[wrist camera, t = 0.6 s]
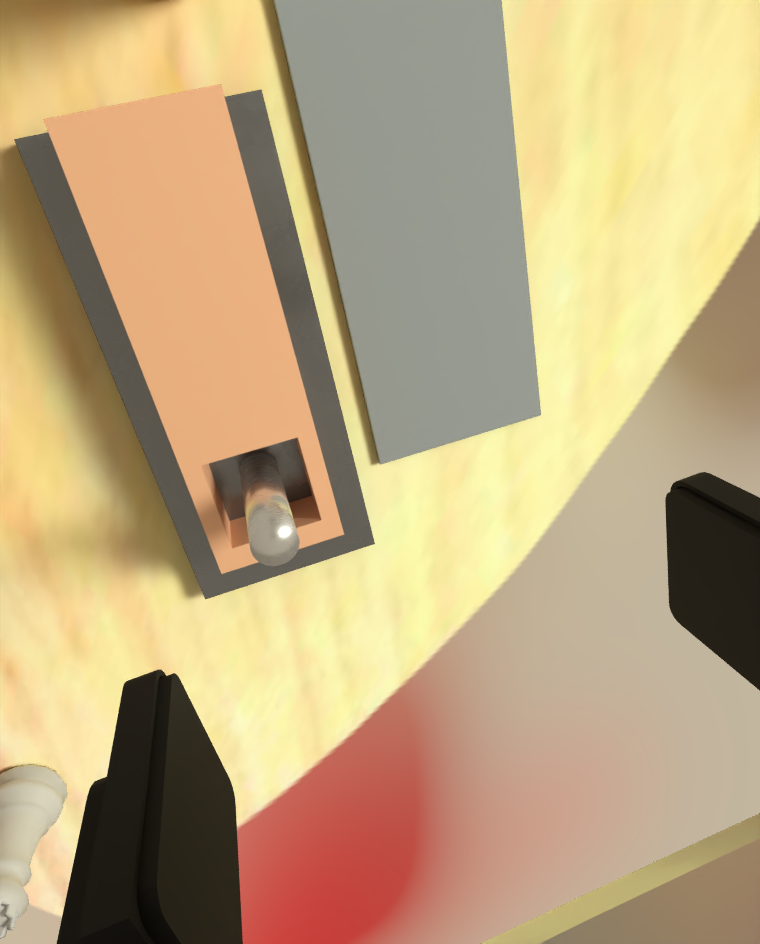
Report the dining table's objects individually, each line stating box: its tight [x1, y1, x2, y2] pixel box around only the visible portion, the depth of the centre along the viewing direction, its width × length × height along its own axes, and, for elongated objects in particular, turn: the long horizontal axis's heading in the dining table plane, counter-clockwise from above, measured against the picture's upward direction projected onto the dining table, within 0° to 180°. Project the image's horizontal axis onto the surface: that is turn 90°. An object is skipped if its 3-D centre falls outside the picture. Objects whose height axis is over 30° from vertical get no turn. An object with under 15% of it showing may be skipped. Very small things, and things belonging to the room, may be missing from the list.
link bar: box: [43, 84, 344, 574], centre depth 28 cm, size 20×6×3 cm, turn 12°
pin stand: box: [14, 90, 375, 599], centre depth 26 cm, size 23×10×9 cm, turn 12°
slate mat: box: [273, 0, 541, 464], centre depth 30 cm, size 22×10×1 cm, turn 12°
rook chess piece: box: [0, 764, 67, 939], centre depth 33 cm, size 4×4×8 cm
